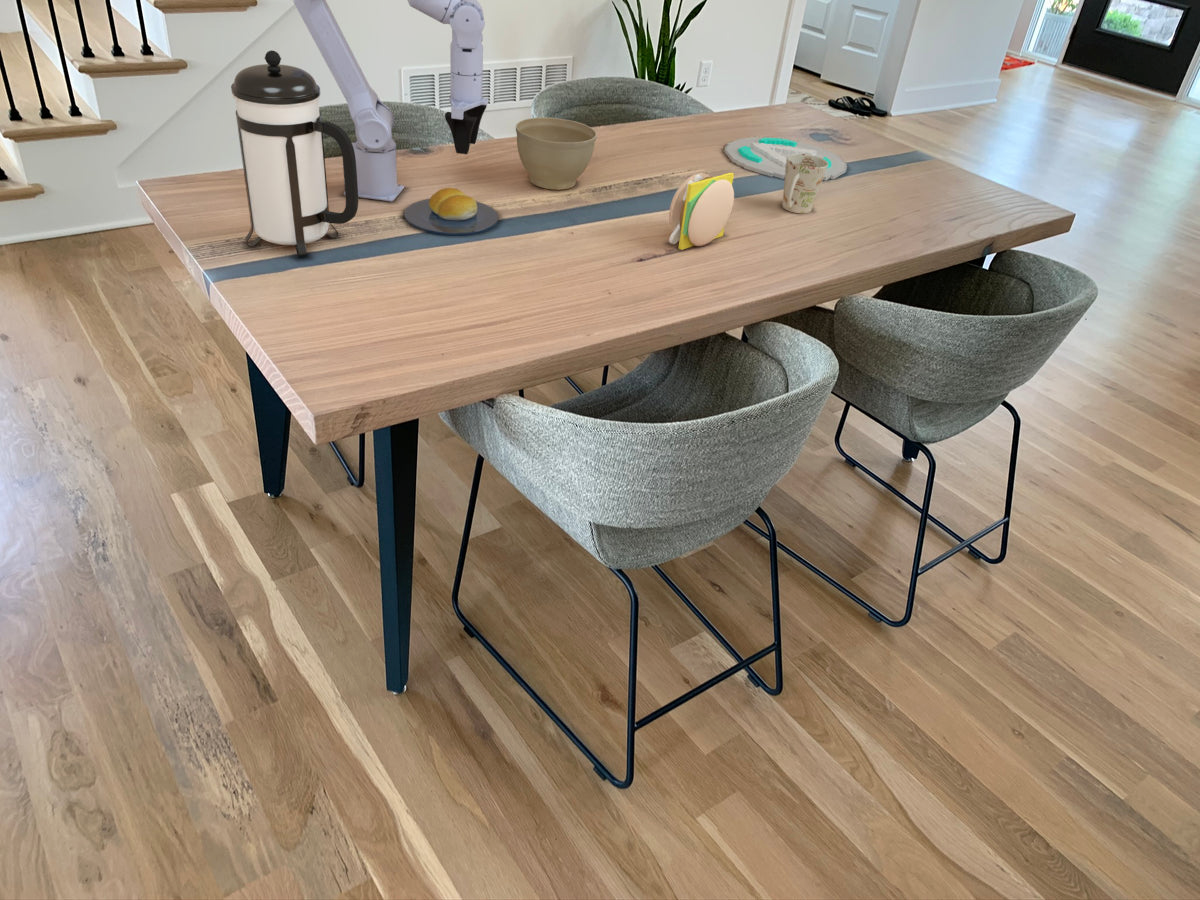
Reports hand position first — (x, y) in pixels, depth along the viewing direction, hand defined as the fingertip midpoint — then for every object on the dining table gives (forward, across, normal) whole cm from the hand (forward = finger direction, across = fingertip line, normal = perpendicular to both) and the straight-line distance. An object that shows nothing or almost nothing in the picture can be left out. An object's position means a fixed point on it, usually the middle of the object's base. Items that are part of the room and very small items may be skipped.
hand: (466, 148), depth 169 cm
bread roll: (+9, -10, 0) cm, 14 cm away
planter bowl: (+10, +14, -15) cm, 23 cm away
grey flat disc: (+10, +50, -65) cm, 83 cm away
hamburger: (+10, -6, -45) cm, 46 cm away
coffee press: (+10, -30, +21) cm, 38 cm away
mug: (+10, +16, -65) cm, 68 cm away
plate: (+9, -11, 0) cm, 14 cm away
